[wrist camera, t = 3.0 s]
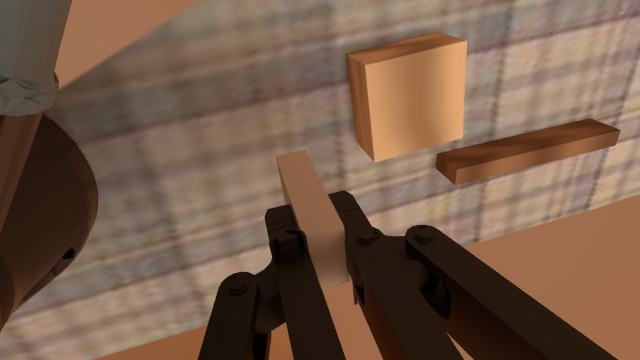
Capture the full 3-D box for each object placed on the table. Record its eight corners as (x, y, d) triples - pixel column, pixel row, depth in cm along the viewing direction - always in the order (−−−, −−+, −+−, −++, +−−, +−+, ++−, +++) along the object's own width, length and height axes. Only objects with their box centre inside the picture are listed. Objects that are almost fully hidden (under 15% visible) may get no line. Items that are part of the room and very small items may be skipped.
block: (356, 140, 30) (374, 162, 26) (345, 53, 26) (365, 65, 22) (434, 119, 30) (462, 137, 27) (434, 31, 27) (466, 40, 23)
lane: (436, 168, 33) (455, 185, 30) (450, -38, 24) (477, -38, 22) (586, 133, 35) (615, 145, 33) (644, -65, 27) (689, -68, 24)
